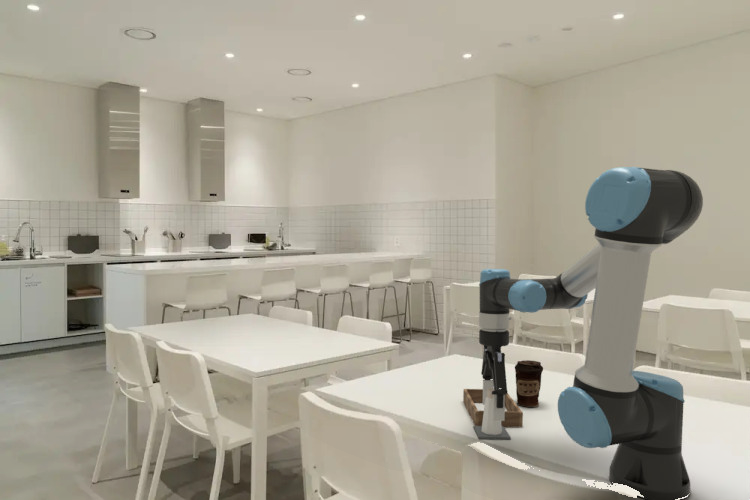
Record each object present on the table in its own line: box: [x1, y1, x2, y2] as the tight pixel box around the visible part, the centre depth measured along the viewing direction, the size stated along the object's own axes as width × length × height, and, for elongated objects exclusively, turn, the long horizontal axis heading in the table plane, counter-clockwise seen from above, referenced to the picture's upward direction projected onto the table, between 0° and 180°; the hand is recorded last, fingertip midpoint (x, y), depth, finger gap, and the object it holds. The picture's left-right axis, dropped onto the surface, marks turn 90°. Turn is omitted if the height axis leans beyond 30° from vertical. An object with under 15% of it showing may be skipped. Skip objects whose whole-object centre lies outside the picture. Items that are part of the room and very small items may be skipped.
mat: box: [472, 425, 512, 441], centre depth 145 cm, size 8×8×1 cm
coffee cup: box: [514, 359, 544, 408], centre depth 169 cm, size 9×8×13 cm
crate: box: [462, 388, 524, 428], centre depth 160 cm, size 22×13×4 cm, turn 0°
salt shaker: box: [481, 388, 502, 435], centre depth 144 cm, size 5×5×11 cm
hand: (493, 412), depth 144 cm, fingers open, 13 cm apart
